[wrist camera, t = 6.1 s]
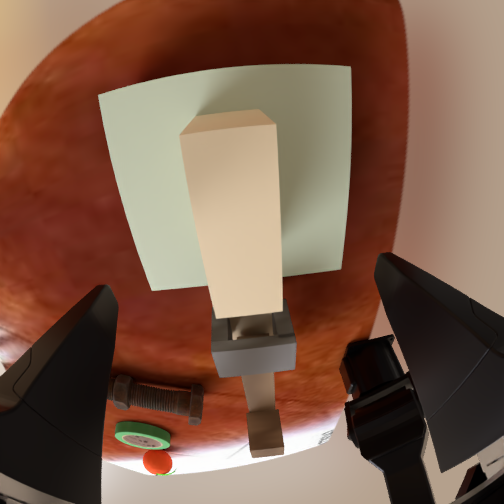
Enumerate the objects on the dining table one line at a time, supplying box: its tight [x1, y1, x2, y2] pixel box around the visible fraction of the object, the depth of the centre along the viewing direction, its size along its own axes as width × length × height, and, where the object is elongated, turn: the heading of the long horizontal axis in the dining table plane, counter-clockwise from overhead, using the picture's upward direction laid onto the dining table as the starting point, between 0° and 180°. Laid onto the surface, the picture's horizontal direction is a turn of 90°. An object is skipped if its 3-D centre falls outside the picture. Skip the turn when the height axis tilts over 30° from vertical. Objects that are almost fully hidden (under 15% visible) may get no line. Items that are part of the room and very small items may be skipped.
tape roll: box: [115, 421, 170, 449], centre depth 44 cm, size 11×11×3 cm
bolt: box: [107, 374, 204, 425], centre depth 32 cm, size 6×5×15 cm
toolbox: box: [211, 299, 297, 378], centre depth 17 cm, size 12×18×9 cm, turn 4°
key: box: [237, 333, 284, 458], centre depth 21 cm, size 3×12×6 cm, turn 4°
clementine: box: [143, 449, 175, 475], centre depth 49 cm, size 8×7×7 cm
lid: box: [98, 64, 352, 319], centre depth 13 cm, size 12×12×6 cm
